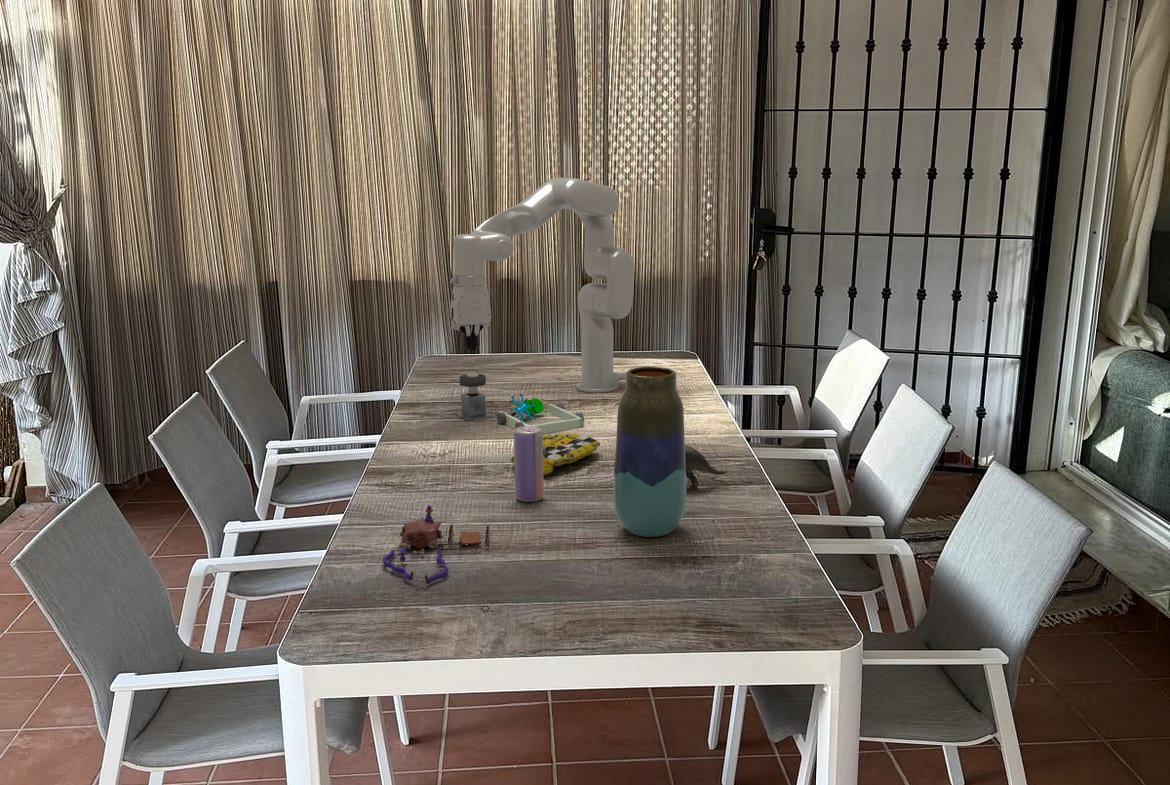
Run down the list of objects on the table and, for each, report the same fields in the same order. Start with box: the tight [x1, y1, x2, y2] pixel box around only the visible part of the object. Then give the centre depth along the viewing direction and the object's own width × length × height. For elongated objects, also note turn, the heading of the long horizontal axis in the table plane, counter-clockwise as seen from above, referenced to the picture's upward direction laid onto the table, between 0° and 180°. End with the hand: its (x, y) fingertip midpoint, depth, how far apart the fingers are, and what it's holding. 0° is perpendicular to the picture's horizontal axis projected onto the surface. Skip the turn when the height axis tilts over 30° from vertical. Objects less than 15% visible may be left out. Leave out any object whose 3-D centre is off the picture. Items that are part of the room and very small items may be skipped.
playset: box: [382, 504, 490, 586], centre depth 188 cm, size 25×19×7 cm
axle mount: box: [454, 391, 494, 422], centre depth 282 cm, size 8×8×6 cm
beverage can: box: [513, 426, 545, 503], centre depth 216 cm, size 6×6×15 cm
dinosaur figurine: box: [685, 444, 728, 490], centre depth 222 cm, size 22×8×11 cm, turn 71°
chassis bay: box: [496, 403, 585, 435], centre depth 274 cm, size 19×18×3 cm
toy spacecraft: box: [510, 433, 601, 477], centre depth 242 cm, size 17×23×5 cm
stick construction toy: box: [509, 393, 545, 423], centre depth 279 cm, size 12×7×8 cm
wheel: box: [459, 372, 487, 394], centre depth 281 cm, size 7×7×5 cm
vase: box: [613, 366, 687, 538], centre depth 196 cm, size 14×14×31 cm
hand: (471, 349), depth 278 cm, fingers closed
